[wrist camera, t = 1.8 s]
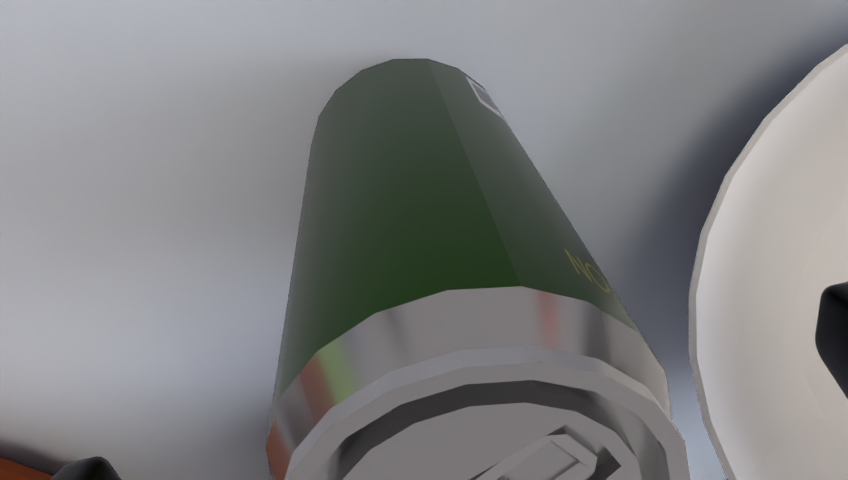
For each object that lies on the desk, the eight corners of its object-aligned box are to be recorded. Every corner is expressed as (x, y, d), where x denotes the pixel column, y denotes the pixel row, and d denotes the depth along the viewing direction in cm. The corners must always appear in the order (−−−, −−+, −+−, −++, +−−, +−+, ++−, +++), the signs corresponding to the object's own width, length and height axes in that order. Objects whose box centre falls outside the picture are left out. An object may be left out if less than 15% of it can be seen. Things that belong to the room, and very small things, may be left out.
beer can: (407, 5, 16) (512, 245, 6) (539, 142, 18) (790, 494, 8) (272, 151, 17) (156, 549, 7) (409, 260, 20) (473, 684, 9)
